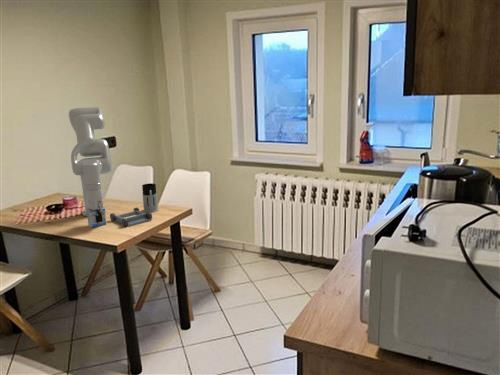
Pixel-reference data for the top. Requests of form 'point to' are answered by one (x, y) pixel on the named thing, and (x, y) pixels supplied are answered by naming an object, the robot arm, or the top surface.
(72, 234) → the top surface
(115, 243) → the top surface
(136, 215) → the chassis
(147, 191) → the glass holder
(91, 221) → the medicine box
